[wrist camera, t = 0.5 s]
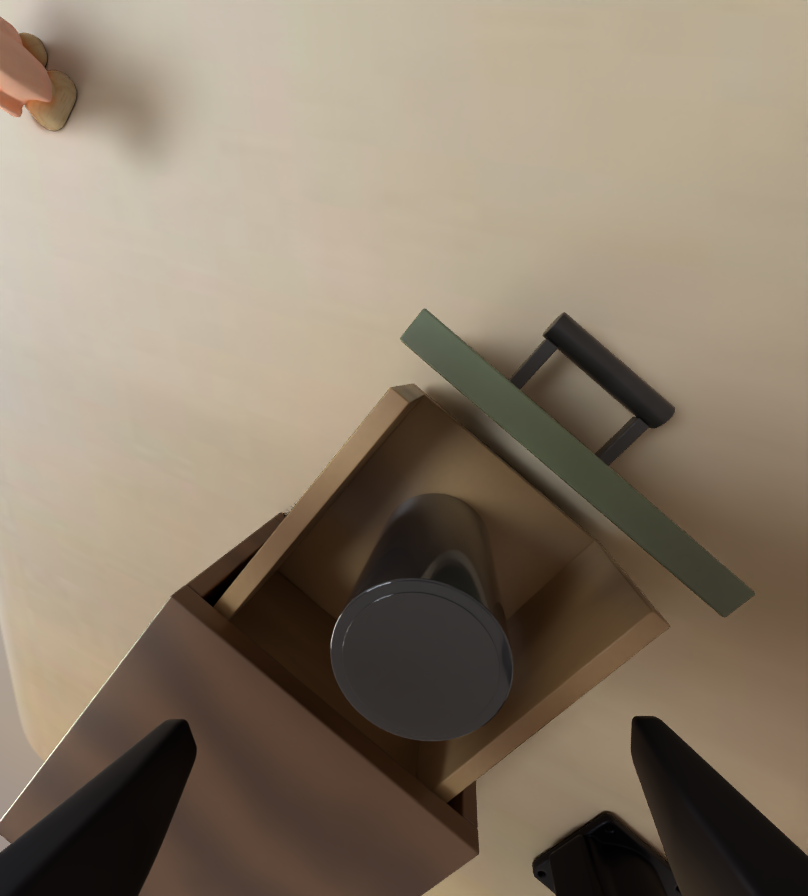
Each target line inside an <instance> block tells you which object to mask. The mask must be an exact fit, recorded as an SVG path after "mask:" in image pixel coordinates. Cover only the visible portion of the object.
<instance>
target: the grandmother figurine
mask: <svg viewBox="0 0 808 896" xmlns="http://www.w3.org/2000/svg"><path fill="white" fill-rule="evenodd" d="M46 63H47V54H46V51H45V49H44V47H43V45H42V43H41V41H40V40H39V39H38V38H37V37H36V36H34V35H31V34H29V33H20V34H18V32H17V31H16V29H15V28H14V27H13V26H12V25H11V24H10V23H8V22H7V21H5V20H4V19H3V18H2V17H0V108H1V109H3V110H4V111H6V112H7V113H9V114H10V115H12V116H14V117H20V116H21V114H22V107H23V105H25V107H26V108H27V109H28V110H29V111H30V113H31V114H32V115H33V117H34V118H35V119H36V120H37V121H38V122H39V123H40V124H41V125H42V126H44V127H45V128H47V129H48V130H52V131H57V130H58V129H60V128H62V127H63V126H64V124H65V122H66V120H67V118H68V116H69V114H70V112H71V110H72V108H73V106H74V103H75V101H76V88H75V86H74V84H73V82H72V81H71V80H70V79H69V77H68V76H67V75H66V74H64V73H62V72H59V71H56V70H50V71H48V72H47V71H46V69H45V68H44V67H45V66H46Z"/></svg>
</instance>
